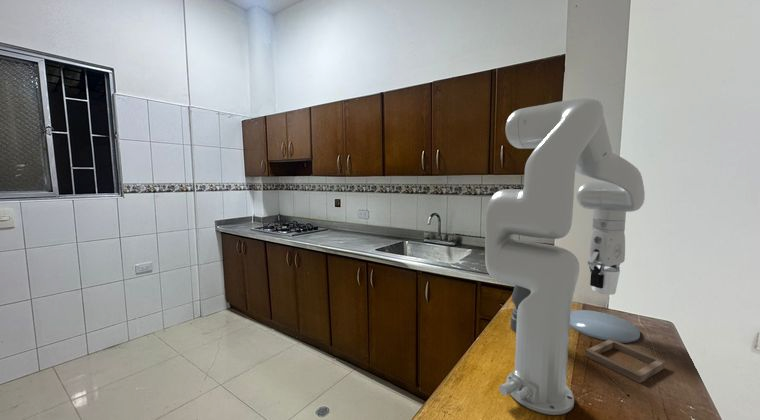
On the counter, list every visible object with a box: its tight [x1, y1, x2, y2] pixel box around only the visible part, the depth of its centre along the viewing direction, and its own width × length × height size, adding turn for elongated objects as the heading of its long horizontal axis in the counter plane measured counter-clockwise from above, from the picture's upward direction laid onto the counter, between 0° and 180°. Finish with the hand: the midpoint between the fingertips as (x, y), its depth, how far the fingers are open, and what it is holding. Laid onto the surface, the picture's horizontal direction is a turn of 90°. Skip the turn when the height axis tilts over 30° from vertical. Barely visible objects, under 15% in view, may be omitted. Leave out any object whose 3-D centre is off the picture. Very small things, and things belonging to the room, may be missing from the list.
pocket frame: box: [584, 339, 666, 384], centre depth 75 cm, size 12×12×2 cm
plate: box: [570, 309, 641, 344], centre depth 92 cm, size 18×18×1 cm
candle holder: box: [510, 285, 531, 333], centre depth 90 cm, size 6×6×25 cm
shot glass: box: [591, 265, 621, 296], centre depth 91 cm, size 7×7×7 cm
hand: (603, 284), depth 91 cm, fingers closed on shot glass, 6 cm apart
